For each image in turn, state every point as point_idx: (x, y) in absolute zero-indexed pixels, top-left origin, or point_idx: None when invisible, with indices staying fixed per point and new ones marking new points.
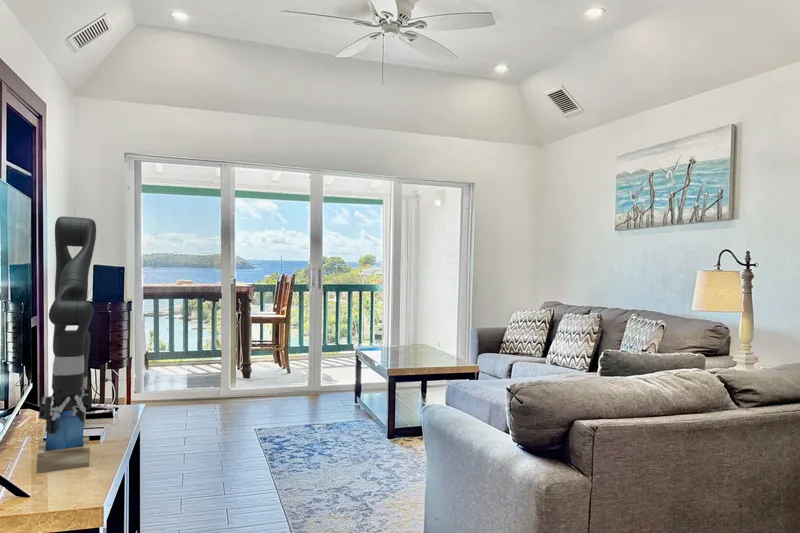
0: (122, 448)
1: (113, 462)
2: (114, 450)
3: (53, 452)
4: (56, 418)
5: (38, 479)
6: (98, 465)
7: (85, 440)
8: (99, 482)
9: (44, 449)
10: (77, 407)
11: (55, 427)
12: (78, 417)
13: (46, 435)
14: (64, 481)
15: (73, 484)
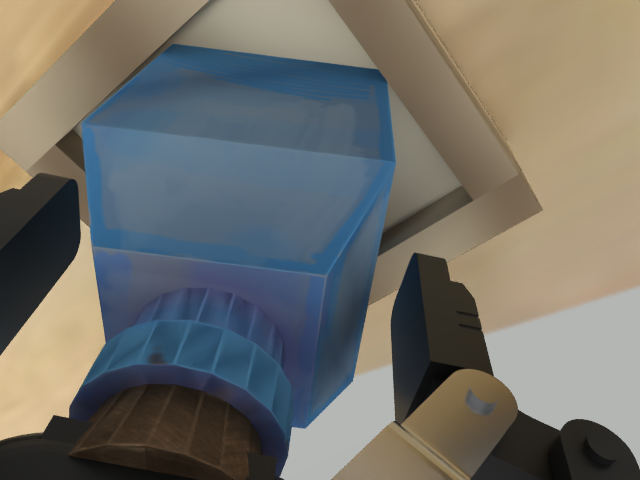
0: (628, 285)
1: (360, 356)
2: (583, 262)
3: (82, 213)
4: (102, 280)
5: (6, 165)
6: None
7: (397, 263)
8: None
9: (87, 111)
10: (447, 441)
11: (45, 292)
12: (309, 420)
13: (121, 89)
14: (54, 298)
15: (48, 349)
